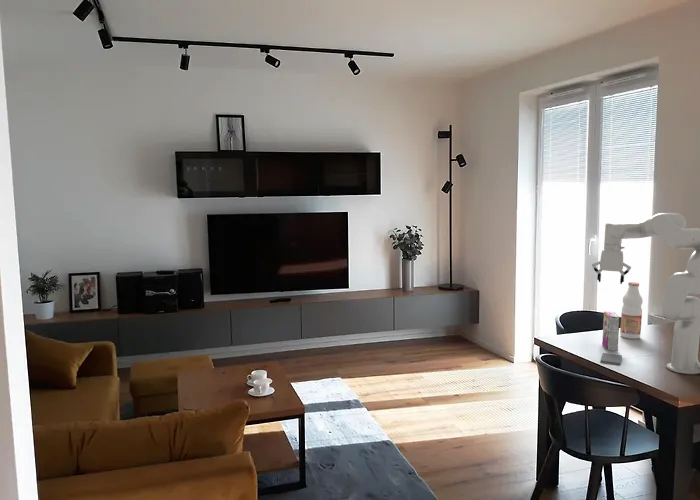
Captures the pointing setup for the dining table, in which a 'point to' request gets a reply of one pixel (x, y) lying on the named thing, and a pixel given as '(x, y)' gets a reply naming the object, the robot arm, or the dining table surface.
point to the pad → (611, 358)
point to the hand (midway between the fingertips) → (610, 282)
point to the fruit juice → (631, 313)
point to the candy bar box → (610, 331)
